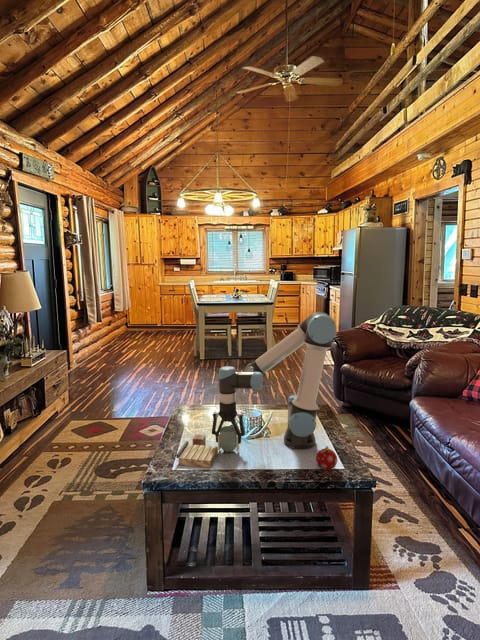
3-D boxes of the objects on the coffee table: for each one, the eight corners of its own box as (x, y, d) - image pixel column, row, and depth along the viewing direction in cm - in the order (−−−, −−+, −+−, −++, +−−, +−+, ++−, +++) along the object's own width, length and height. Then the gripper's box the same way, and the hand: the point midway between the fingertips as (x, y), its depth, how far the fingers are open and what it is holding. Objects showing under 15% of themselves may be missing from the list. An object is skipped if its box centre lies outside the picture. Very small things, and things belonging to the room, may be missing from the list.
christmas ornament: (322, 462, 178) (322, 440, 177) (340, 468, 172) (341, 445, 171) (312, 469, 171) (312, 446, 170) (330, 476, 166) (331, 452, 165)
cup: (235, 454, 183) (234, 433, 181) (218, 453, 184) (217, 431, 183) (238, 447, 190) (238, 426, 189) (222, 445, 192) (222, 425, 191)
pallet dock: (218, 452, 186) (217, 443, 186) (210, 467, 172) (210, 457, 172) (186, 450, 189) (186, 440, 188) (176, 464, 175) (176, 454, 175)
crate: (205, 445, 195) (205, 435, 194) (203, 449, 190) (203, 439, 189) (195, 444, 195) (195, 434, 195) (192, 449, 190) (192, 438, 190)
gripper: (251, 399, 186) (252, 447, 189) (207, 397, 190) (208, 444, 193) (249, 404, 179) (249, 454, 182) (203, 402, 183) (204, 451, 185)
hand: (228, 449), depth 187 cm, fingers closed on cup, 8 cm apart
